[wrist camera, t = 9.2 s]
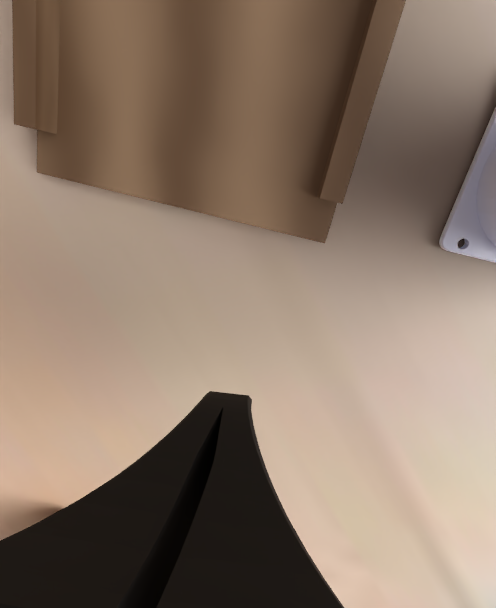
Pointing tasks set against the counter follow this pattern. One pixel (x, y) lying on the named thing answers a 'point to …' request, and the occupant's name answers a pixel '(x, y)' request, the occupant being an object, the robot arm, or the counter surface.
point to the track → (205, 100)
